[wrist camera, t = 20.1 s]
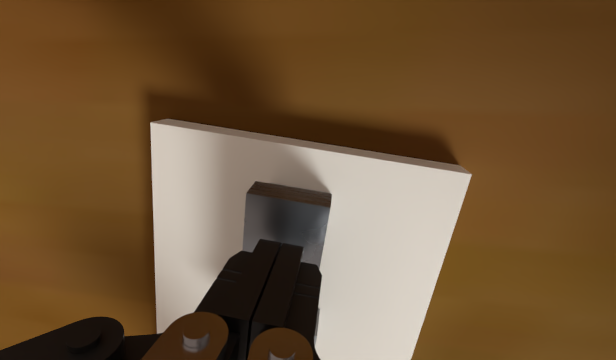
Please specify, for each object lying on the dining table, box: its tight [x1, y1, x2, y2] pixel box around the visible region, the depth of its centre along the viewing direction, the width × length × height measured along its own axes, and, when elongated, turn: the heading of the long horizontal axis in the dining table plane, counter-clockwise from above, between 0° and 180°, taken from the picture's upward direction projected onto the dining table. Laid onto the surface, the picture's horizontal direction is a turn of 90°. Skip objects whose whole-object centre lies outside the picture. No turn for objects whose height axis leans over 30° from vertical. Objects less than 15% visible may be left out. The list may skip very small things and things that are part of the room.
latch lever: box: [242, 181, 332, 269], centre depth 13 cm, size 4×10×1 cm, turn 172°
